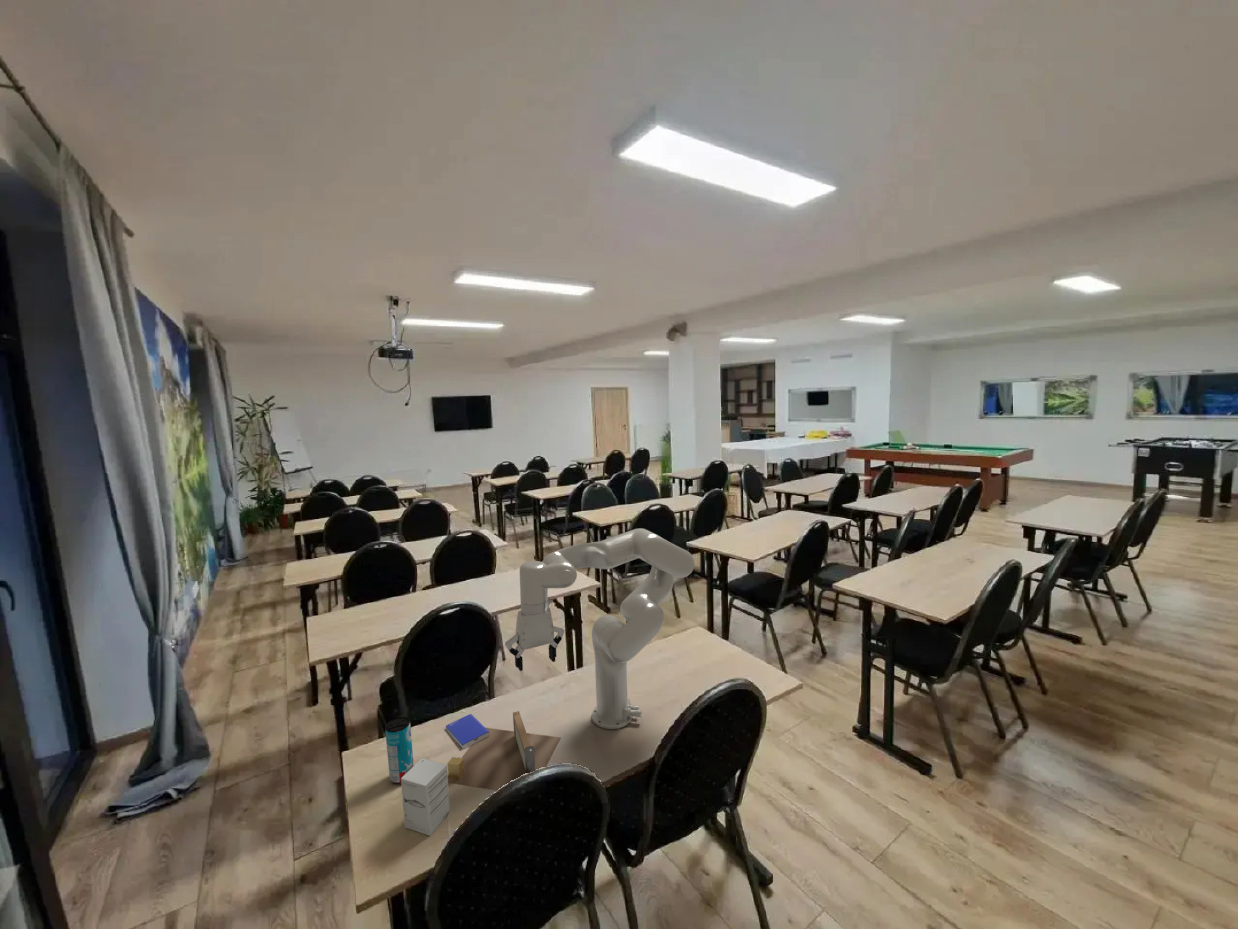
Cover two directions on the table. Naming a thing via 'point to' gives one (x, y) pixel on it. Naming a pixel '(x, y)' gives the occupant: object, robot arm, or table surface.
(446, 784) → the supplement box
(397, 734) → the beverage can
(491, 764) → the board
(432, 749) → the table surface
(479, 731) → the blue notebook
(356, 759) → the table surface
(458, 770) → the gate posts
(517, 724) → the brown and grey board
